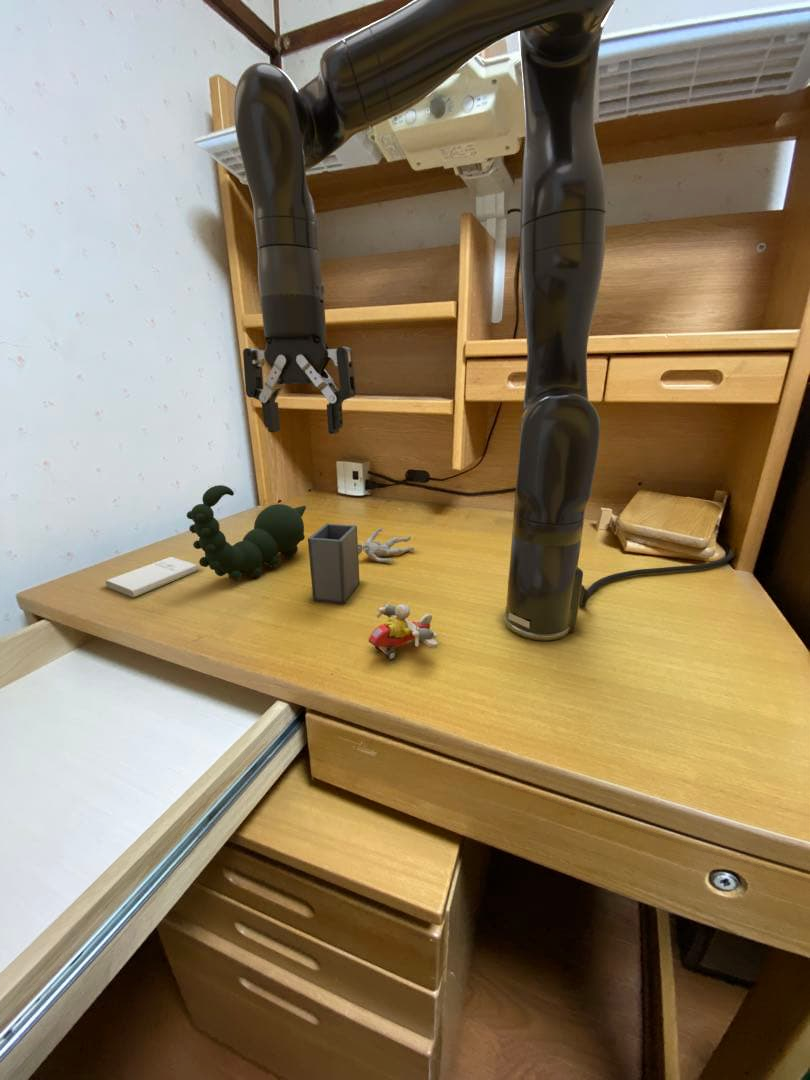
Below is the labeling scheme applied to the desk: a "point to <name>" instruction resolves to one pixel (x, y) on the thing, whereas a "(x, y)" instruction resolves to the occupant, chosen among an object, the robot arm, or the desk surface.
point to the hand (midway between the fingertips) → (304, 432)
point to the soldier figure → (383, 547)
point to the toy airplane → (401, 630)
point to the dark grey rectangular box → (334, 563)
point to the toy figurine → (246, 537)
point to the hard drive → (151, 576)
